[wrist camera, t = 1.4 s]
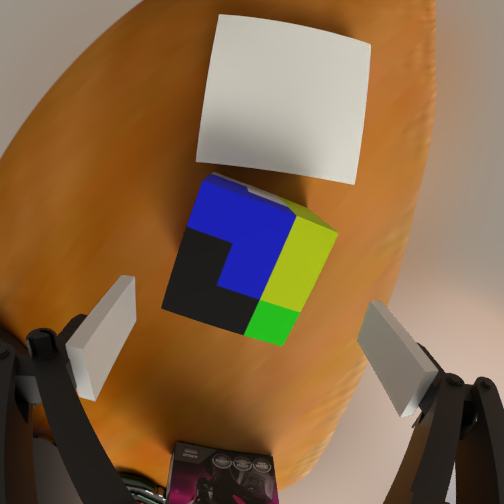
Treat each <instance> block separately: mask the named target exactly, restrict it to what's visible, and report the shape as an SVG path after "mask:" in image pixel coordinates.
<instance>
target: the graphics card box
mask: <svg viewBox="0 0 504 504" xmlns="http://www.w3.org/2000/svg"><path fill="white" fill-rule="evenodd" d="M165 504H279V499H278V492H277V484H276V478H275V470H274V462H273V456H264V455H253V454H244V453H237V452H229V451H223V450H217V449H211V448H206V447H200V446H195V445H190V444H185V443H181V442H176V444H175V447H174V451H173V454H172V457H171V462H170V469H169V476H168V482H167V491H166V501H165Z"/></svg>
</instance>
